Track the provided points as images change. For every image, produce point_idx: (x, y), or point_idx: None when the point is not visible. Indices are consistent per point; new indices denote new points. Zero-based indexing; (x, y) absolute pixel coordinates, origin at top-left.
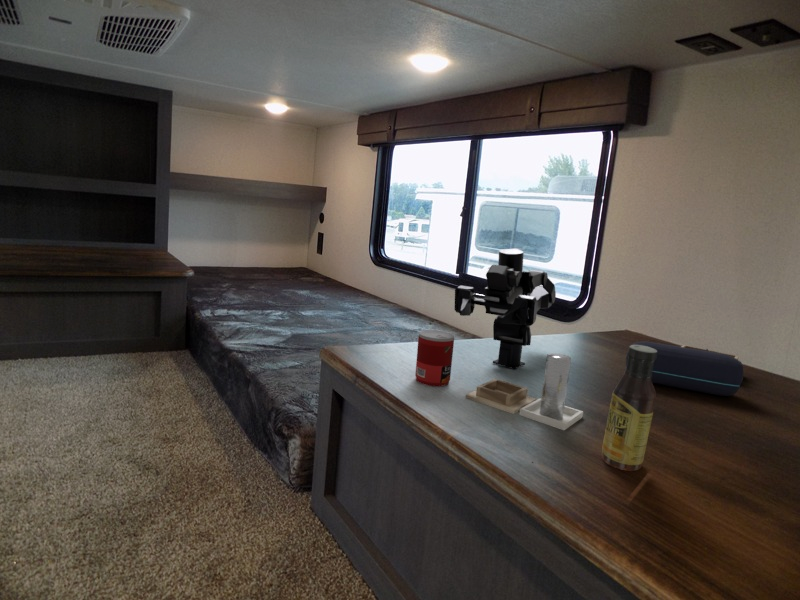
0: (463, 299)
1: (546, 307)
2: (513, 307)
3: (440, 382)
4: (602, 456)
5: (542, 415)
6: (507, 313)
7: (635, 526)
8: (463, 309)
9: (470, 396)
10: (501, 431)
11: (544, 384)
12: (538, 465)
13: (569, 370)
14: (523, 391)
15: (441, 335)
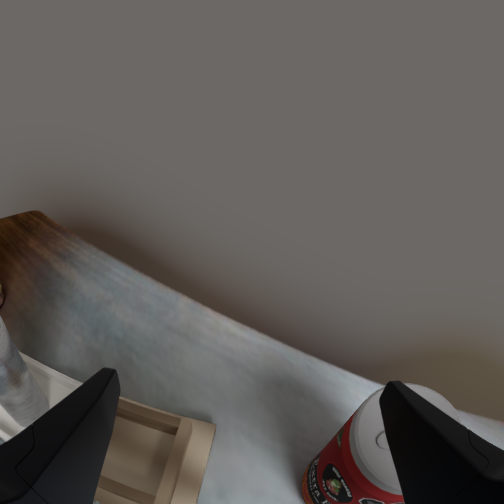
0: (501, 453)
1: None
2: (9, 473)
3: (310, 463)
4: (1, 298)
5: (44, 369)
6: (68, 404)
7: (26, 237)
8: (400, 398)
9: (202, 421)
10: (117, 332)
11: (21, 358)
12: (76, 276)
13: None
14: None
15: None
